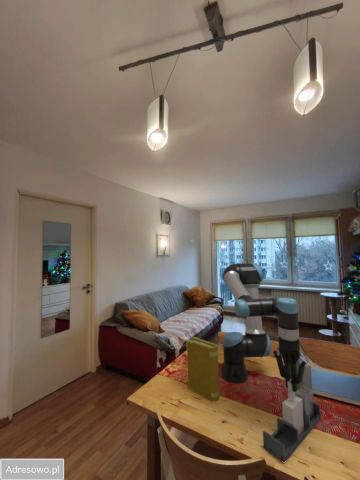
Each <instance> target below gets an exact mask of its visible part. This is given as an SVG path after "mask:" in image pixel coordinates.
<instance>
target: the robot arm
mask: <svg viewBox="0 0 360 480" xmlns="http://www.w3.org/2000/svg"><path fill="white" fill-rule="evenodd" d="M263 273H264V272H263V270H262V267H261V266H260V265H259V264H258V263H253V262H252V263H251V262H249V263H232V264H230V265H228V266H227V267H225V268H224V270H223V272H222V280H223V282H224V284H225V285H227V286H228V288H229V290H230V293H231V295H232V297H233V298H234V299H235V301H234V305H233V306H234V312H235V314H236V316H237V317H239V318H241V317H244V318H246V327H247V328H246V330H244V331H245V333H244V334H243V333H242V332H240V331H231V332H228V333H225V334H224V335H223V337H222V346H223V347H222V351H223V362H222V365H221V369H220V375H221V377H222V378H223V379H224V380H225V381H226V382H229V383H232V384H233V383H234V384H241V383H245V382H246V381H247V380H248V379H249V373H248V372H249V371H248V370H247V367H246V363H245V358H265V357H266V358H267V357H269V355H270V354H271V351H272V342H271V338H270V336H269V335H268V334H267V332H266V331H265V330H264V329H263V321H262V317H275V318H276V319H277V331H278V348H277V349H275V350H273V352H272V353H273V355H274V356H275V360H276V363H277V368H278V370H279V371H278V372H279V376H280V377H281V378H283V379H284V380H285V388H286V389H287V395H288V397H287V398H288V399H290V400H293V399H294V398H295V392H296V391H297V384H300V383H301V382H302V379H303V374H304V369H305V365H306V364H307V363H308V362H309V361H307V360H308V359H307V360H304V359H303V358H302V357H301V353H302V352H301V353H300V351H301V349H300V348H301V347H300V346H301V345H300V332H299V307H298V301H297V300H296V299H294V298H290V297H279V298H277V297H275V296H268V297H266V298H260V293H259V287H260V286H261V283H262V282H263V281H264V274H263ZM298 360H300V361H299V363H300V365H299V369H298V374H297V367H296V364H297V361H298ZM290 368H291V375H290ZM290 378H291V379H290Z"/></svg>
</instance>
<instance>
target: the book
mask: <svg viewBox="0 0 360 480" xmlns="http://www.w3.org/2000/svg"><path fill="white" fill-rule="evenodd" d="M185 344H186V351H187V353H186V354H187V355H186V357H187V358H186V359H187V390H189V391H190V392H192V393H195V394H197V395H199V396H201V397H202V398H204V399H206V400H208V401H210V402H217V401H219V400H220V376H219V375H220V373H219V372H220V371H219V369H220V368H219V352H218V351H219V348H218V344H216V343H214V342H211V341H208V340H204V339H201V338H199V337H196V336H193V337H191V339H187V340H186V343H185Z"/></svg>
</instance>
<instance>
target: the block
mask: <svg viewBox="0 0 360 480" xmlns="http://www.w3.org/2000/svg"><path fill="white" fill-rule="evenodd" d="M281 405H282V420H283V421H285V422H287V423H288V424H290V425H292V426H293V427H295V428H297V429H298V435H299V433H300V432H301V431H302V430H303V429H304V422H303V406H302V399H300V398H298V397H296V396H295V398H294V399H293V400H290V399H288V397H287V398H286V399H285V400H284V401H282V403H281Z"/></svg>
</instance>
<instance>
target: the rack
mask: <svg viewBox="0 0 360 480" xmlns="http://www.w3.org/2000/svg"><path fill="white" fill-rule="evenodd" d="M295 396H296V397H298V398H300V399H302V406H303V422H304V429H303V430H302V431H301V432H300V433H299V435H298V429H297V428H295V427H293V426H292V425H290V424H288V423H287V422H285V421H283V418H280V417H277V418H276V421H277V422H276V423H277V428H276V430H274V432H273V433H272V434H270V433H268V432H267V431H266V430H263V431H262V439H263V441H262V442H263V448H264V449H265V450H266V451H267V452H269V453H270V454H271V455H273V457H275V456H276V457H277V459H278V460H279V459H280V460H281V461H280V460H279V461H280V462H282V461H283V462H285V461H286V460H287V459H288V460H289V458H290V457H292V456H293V454H294V453H295V451H296V450H297V449H298V447H299V446H300V445H301V443H302V442H304V441H305V439H306V438H307V436H308V435H309V434H311V431H312V430H313V429H314V428H315V426H317V424H318V423H319V421H320V420H321V419H322V417H321V416H322V415H321V405H320V404H319V403H317V402H315V400H314V389H313V388H312V389H310V388H308V387H306V386H304V385H303V386H301V387H300V388H299V389H298V390H297V391H296V392H295ZM276 457H275V458H276ZM288 460H287V461H288ZM287 461H286V462H287ZM283 462H282V463H283ZM286 462H285V463H286Z"/></svg>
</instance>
